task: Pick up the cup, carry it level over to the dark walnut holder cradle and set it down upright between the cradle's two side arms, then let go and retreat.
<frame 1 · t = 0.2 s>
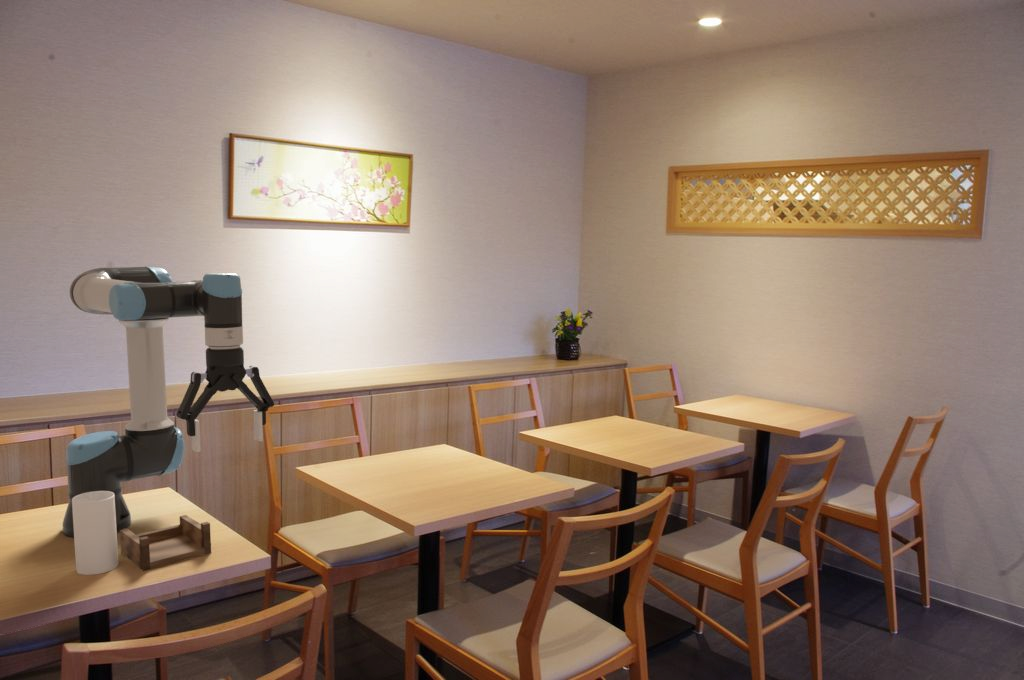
hand: (228, 445, 170), 28 cm above the table, fingers open, 13 cm apart
holder: (166, 552, 182), on the table
cup: (97, 568, 174), on the table
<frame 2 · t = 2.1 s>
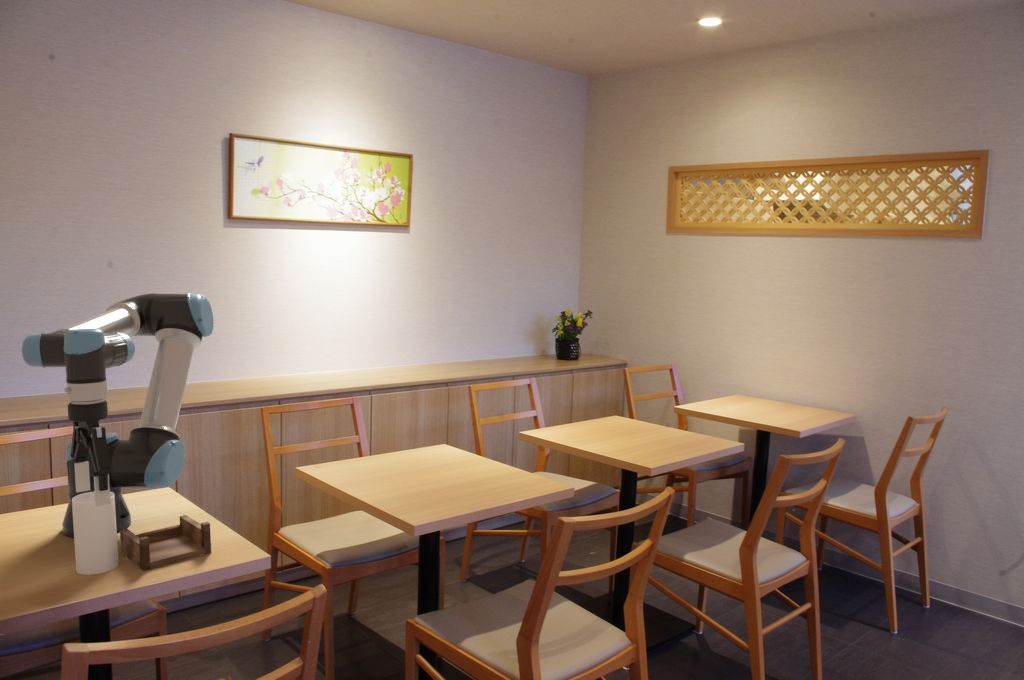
hand: (92, 497, 172), 16 cm above the table, fingers open, 13 cm apart
nothing on the table moved.
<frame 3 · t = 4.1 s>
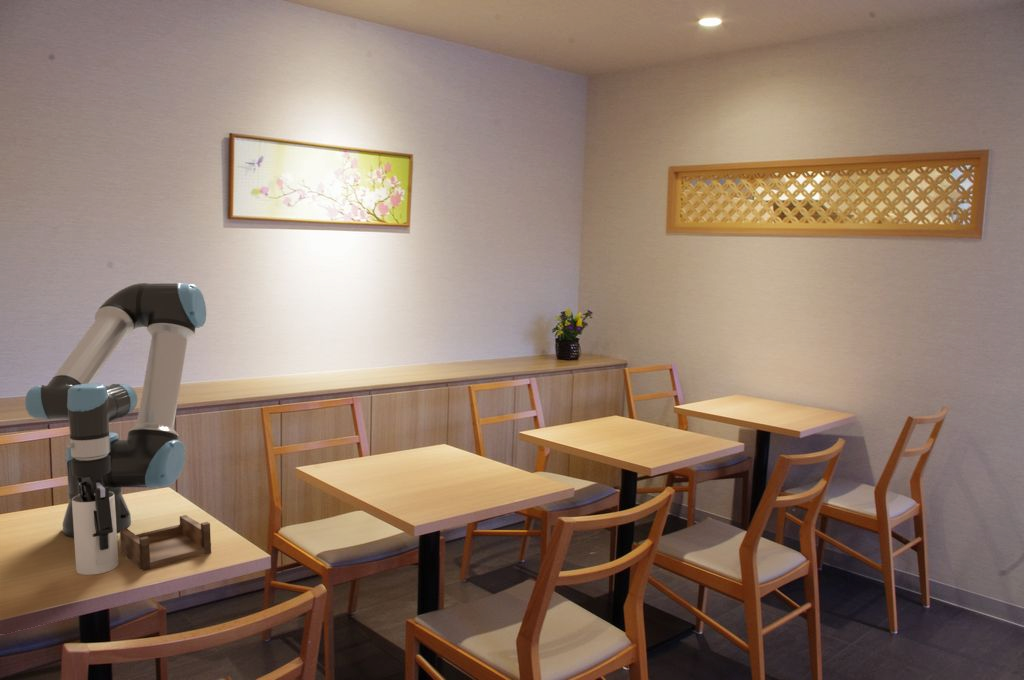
hand: (96, 557, 174), 2 cm above the table, fingers closed on cup, 8 cm apart
cup: (97, 568, 174), on the table, touching gripper
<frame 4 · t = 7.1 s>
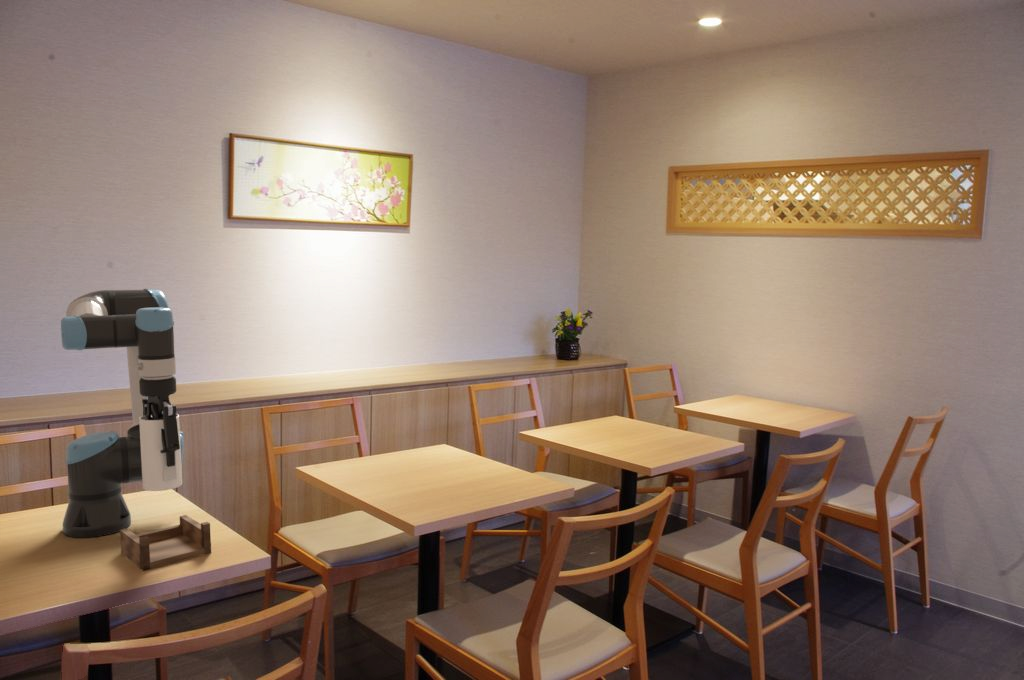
hand: (162, 475, 180), 18 cm above the table, fingers closed on cup, 8 cm apart
cup: (162, 486, 180), point 16 cm above the table, touching gripper
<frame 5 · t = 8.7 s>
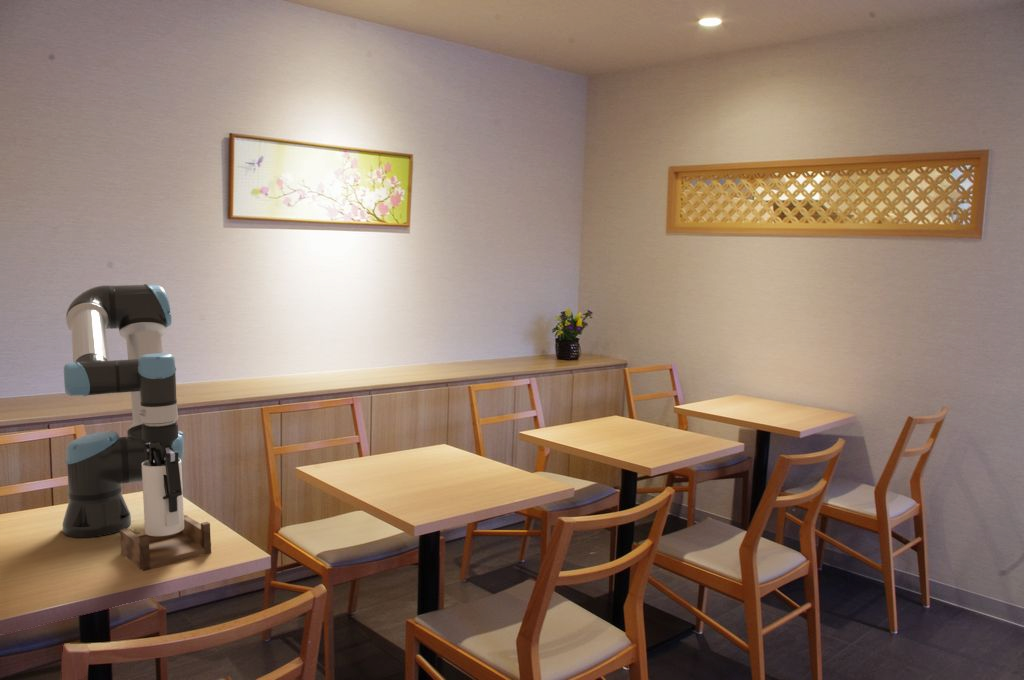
hand: (164, 520, 181), 8 cm above the table, fingers closed on cup, 8 cm apart
cup: (165, 530, 182), point 5 cm above the table, touching gripper
when the fingers open (6 cm above the table, at t = 10.1 s): cup drops 2 cm, resting on holder.
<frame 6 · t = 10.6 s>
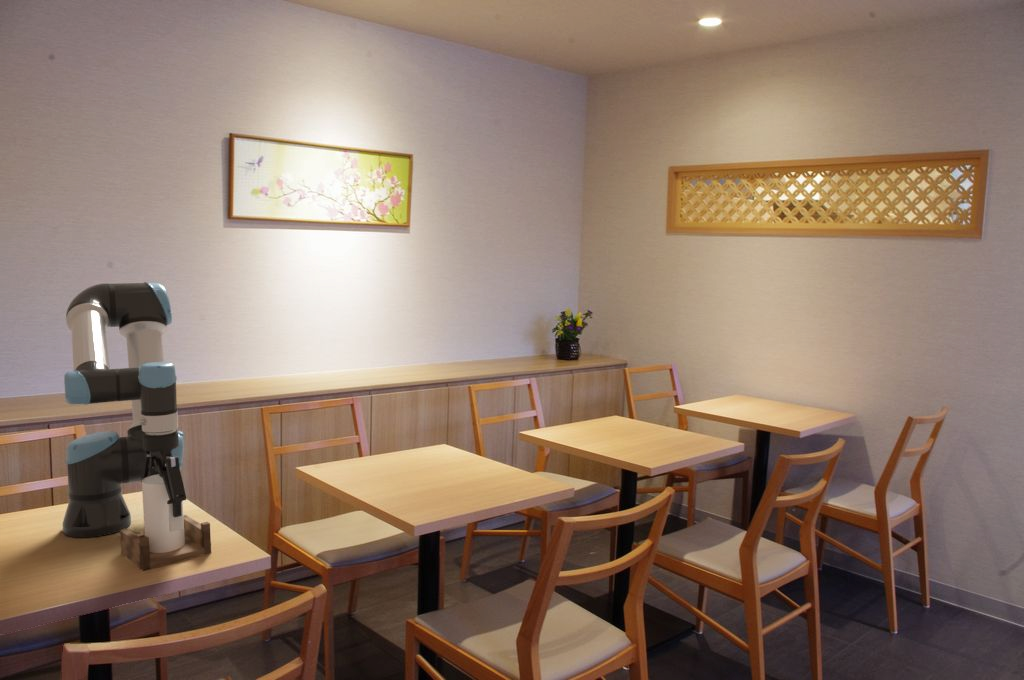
hand: (164, 522, 181), 7 cm above the table, fingers open, 13 cm apart
cup: (165, 546, 182), point 1 cm above the table, touching holder
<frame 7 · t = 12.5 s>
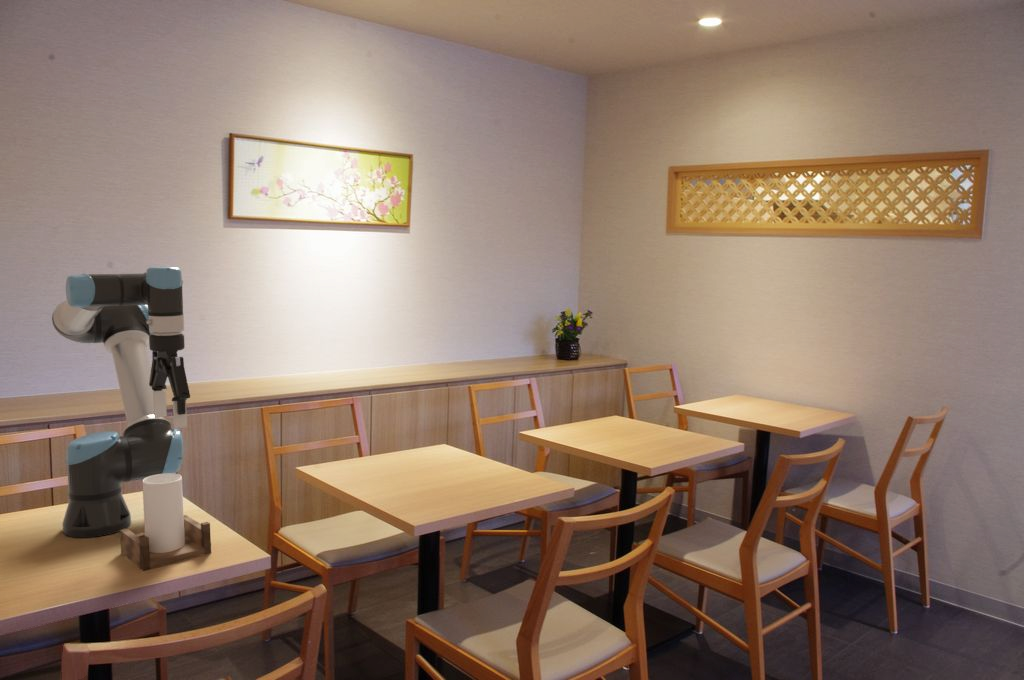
hand: (170, 422, 188), 29 cm above the table, fingers open, 13 cm apart
nothing on the table moved.
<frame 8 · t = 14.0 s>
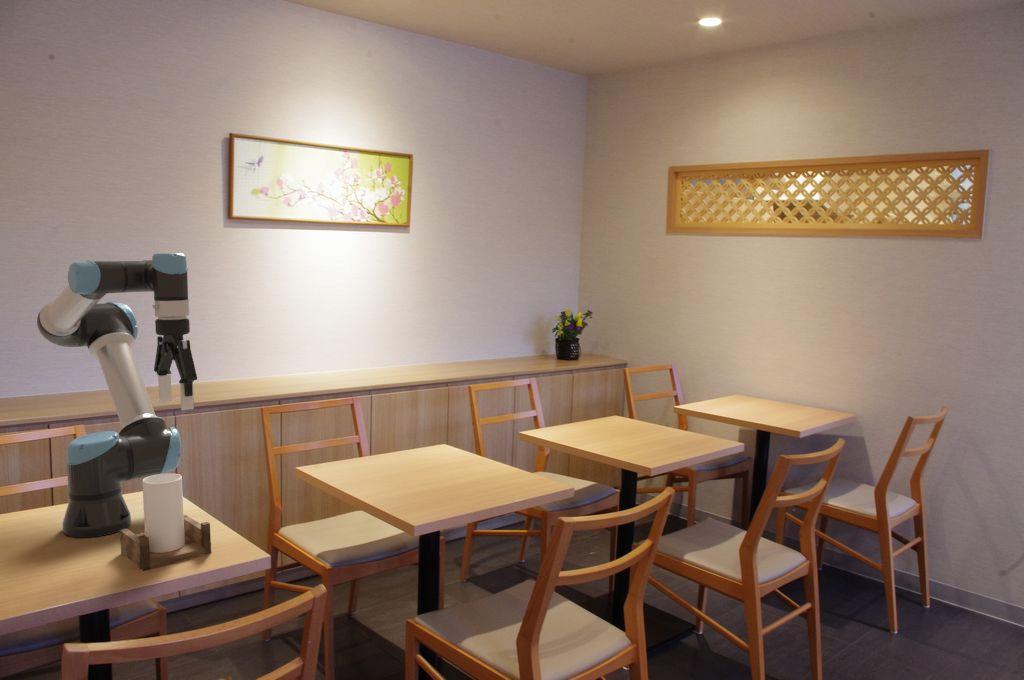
hand: (176, 405, 192), 32 cm above the table, fingers open, 13 cm apart
nothing on the table moved.
at the end: cup inside the target area on the holder (0.3 cm from its centre), point 1.3 cm above the holder's base; cup tilted 0°; the gripper is holding nothing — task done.
